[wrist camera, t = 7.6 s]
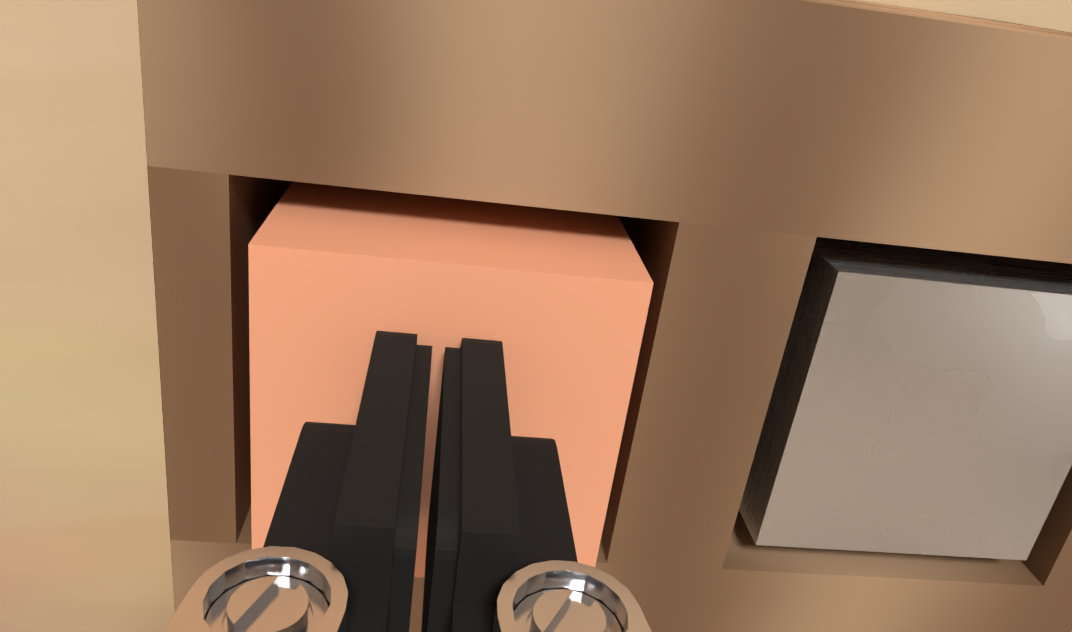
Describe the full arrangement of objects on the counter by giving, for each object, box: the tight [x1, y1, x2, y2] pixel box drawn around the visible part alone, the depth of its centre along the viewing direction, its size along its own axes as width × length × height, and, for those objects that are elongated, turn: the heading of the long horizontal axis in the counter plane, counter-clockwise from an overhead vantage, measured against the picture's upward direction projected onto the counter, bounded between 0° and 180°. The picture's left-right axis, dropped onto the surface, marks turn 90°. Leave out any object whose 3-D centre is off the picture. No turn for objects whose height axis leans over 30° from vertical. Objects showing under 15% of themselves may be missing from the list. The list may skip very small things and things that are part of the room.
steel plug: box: [739, 237, 1072, 560], centre depth 16 cm, size 5×5×6 cm
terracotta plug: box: [248, 181, 654, 578], centre depth 14 cm, size 5×5×6 cm
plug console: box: [137, 0, 1072, 632], centre depth 16 cm, size 16×12×8 cm
